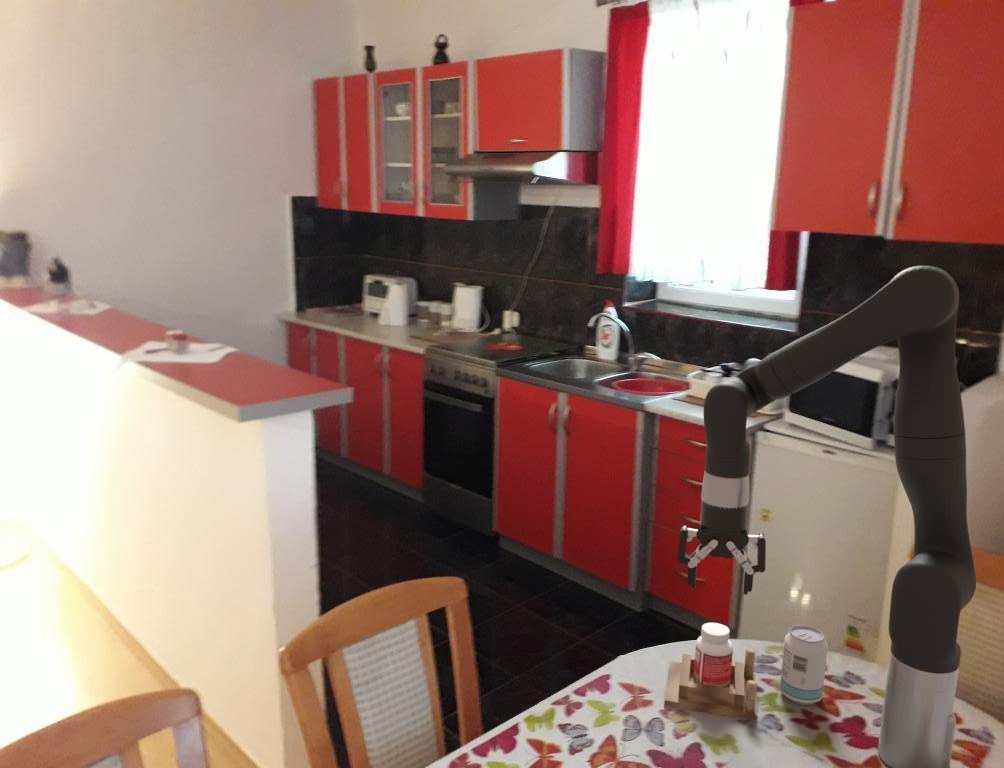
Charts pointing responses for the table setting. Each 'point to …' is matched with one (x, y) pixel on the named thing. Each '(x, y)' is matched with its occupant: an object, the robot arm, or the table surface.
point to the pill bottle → (713, 656)
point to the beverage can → (803, 665)
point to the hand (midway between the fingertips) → (718, 589)
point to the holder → (714, 689)
